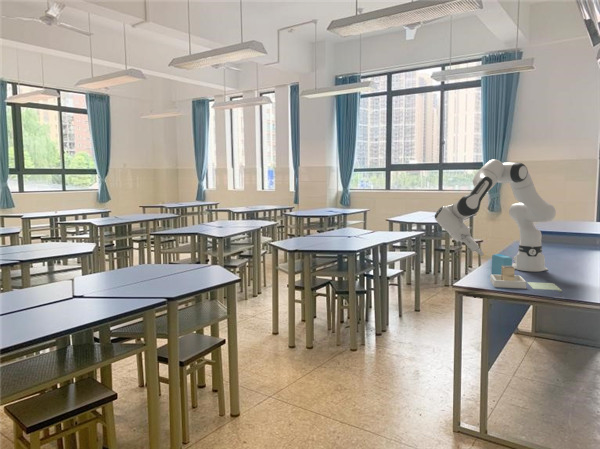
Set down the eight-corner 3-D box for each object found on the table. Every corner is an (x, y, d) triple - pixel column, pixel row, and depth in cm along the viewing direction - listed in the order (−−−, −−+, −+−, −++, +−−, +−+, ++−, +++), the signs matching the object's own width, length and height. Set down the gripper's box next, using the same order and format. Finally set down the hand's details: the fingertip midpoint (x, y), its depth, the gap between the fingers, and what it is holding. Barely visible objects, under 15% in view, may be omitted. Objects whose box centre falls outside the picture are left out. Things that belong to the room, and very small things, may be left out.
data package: (511, 280, 227) (512, 257, 226) (503, 280, 226) (504, 257, 225) (499, 275, 239) (499, 253, 237) (491, 275, 238) (491, 254, 237)
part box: (501, 282, 217) (501, 265, 216) (512, 283, 216) (512, 265, 215) (502, 285, 213) (503, 267, 212) (514, 285, 211) (514, 267, 210)
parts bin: (490, 282, 223) (490, 274, 223) (520, 283, 219) (520, 275, 219) (494, 288, 210) (494, 280, 209) (526, 290, 206) (526, 281, 205)
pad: (526, 283, 218) (526, 282, 218) (553, 284, 215) (553, 283, 215) (533, 290, 205) (533, 288, 205) (561, 291, 201) (561, 290, 201)
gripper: (467, 231, 207) (489, 252, 206) (464, 227, 227) (484, 246, 225) (457, 240, 209) (479, 261, 207) (455, 235, 229) (474, 254, 227)
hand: (481, 253), depth 216 cm, fingers open, 8 cm apart
